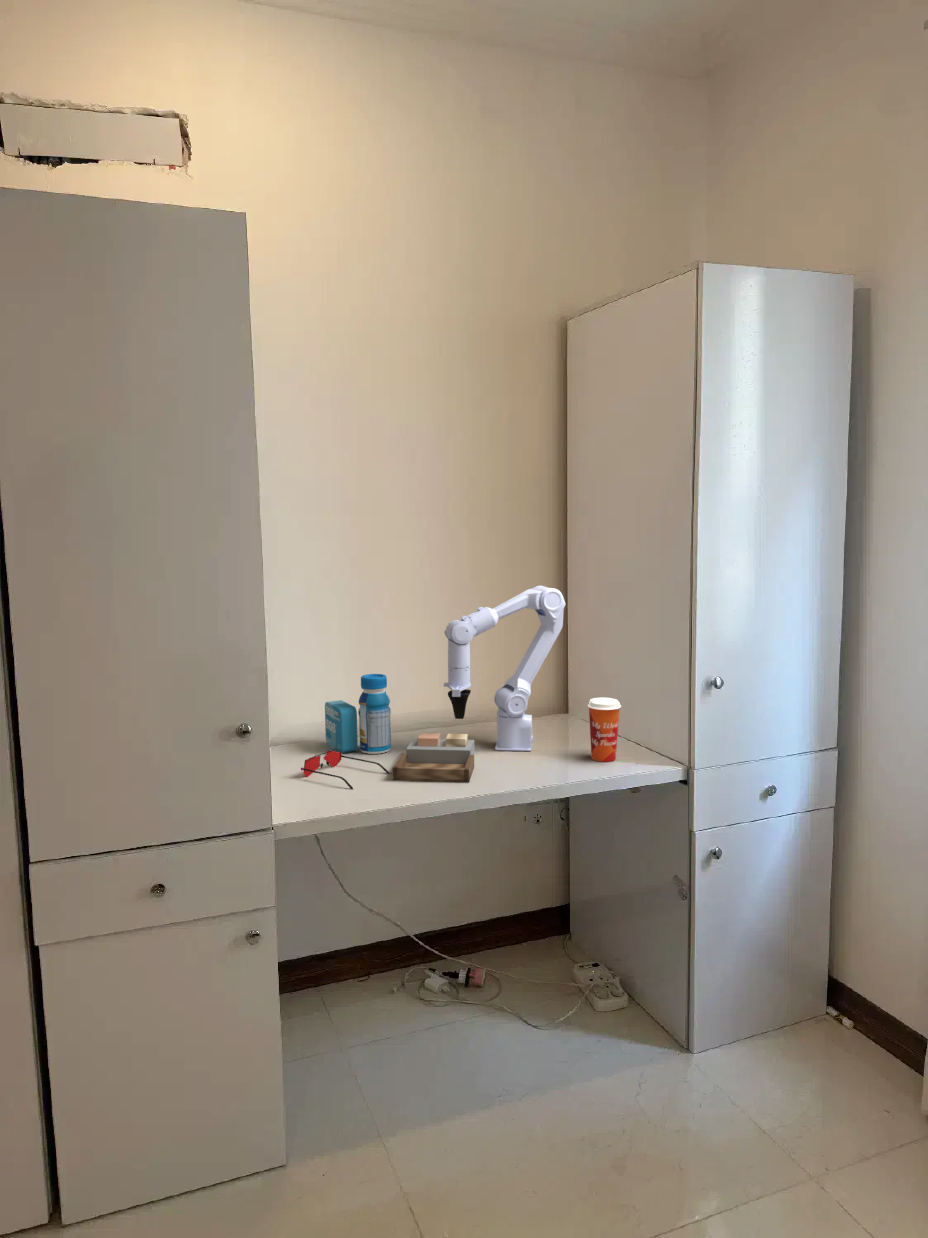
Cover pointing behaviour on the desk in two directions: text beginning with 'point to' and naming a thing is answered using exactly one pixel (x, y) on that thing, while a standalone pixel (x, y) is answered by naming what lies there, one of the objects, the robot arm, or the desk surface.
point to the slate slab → (439, 753)
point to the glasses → (331, 759)
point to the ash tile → (456, 740)
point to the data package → (341, 726)
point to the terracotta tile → (429, 739)
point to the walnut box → (432, 771)
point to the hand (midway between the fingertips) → (459, 718)
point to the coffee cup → (603, 728)
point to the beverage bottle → (374, 715)
